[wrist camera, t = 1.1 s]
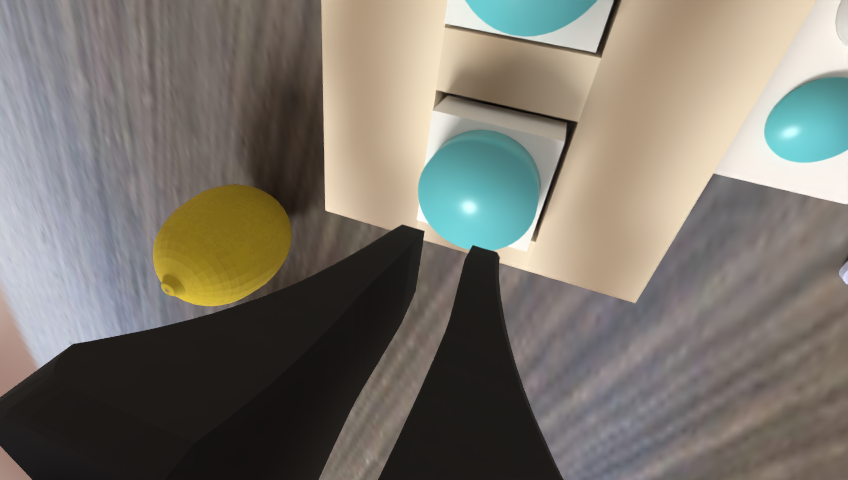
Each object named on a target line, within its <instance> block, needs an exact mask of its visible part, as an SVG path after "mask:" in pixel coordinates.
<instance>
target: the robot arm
mask: <svg viewBox="0 0 848 480" xmlns="http://www.w3.org/2000/svg"><path fill="white" fill-rule="evenodd" d="M424 233H425V231H423V230H420V229H416V228H413V227H410V226H406V225H403V224H402V225H400V226H398V227H397V228H395V229H393V230H392V231H390V232H388V233H387V234H385V235H384V236H382V237H380V238H379V239H377V240H376V241H374V242H372V243H371V244H369V245H367V246H366V247H364V248H362V249H361V250H359V251H357V252H356V253H354V254H352V255H350V256H349V257H347V258H345V259H344V260H342V261H340V262H338V263H336V264H334V265H332V266H331V267H329V268H327V269H325V270H323V271H321V272H319V273H317V274H315V275H313V276H311V277H309V278H307V279H305V280H303V281H300V282H298V283H296V284H294V285H291V286H289V287H287V288H284V289H282V290H279V291H277V292H274V293H272V294H269V295H267V296H264V297H261V298H258V299H255V300H252V301H249V302H246V303H243V304H240V305H237V306H234V307H231V308H228V309H225V310H222V311H219V312H216V313H212V314H209V315H205V316H202V317H198V318H194V319H191V320H187V321H183V322H179V323H175V324H171V325H167V326H163V327H159V328H154V329H150V330H145V331H140V332H135V333H130V334H125V335H120V336H115V337H109V338H104V339H99V340H94V341H89V342H83V343H77V344H73V345H71V346H70V347H68V348H67V349H66V350H64V351H63V352H61V353H60V354H59V355H57V356H56V357H55V358H53V359H52V360H51V361H49V362H48V363H46V364H45V365H44V366H42V367H41V368H40V369H38V370H37V371H36V372H34V373H33V374H31V375H30V376H29V377H27V378H26V379H25V380H23V381H22V382H21V383H19V384H18V385H17V386H15V387H14V388H12V389H11V390H10V391H8V392H7V393H6V394H4V395H3V396H1V397H0V446H1V447H2V448H3V449H4V450H5V451H6V452H7V453H8V454H9V455H10V457H12V459H13V460H14V461H15V462H16V463H17V464H18V465H19V466H20V467H21V468H22V469H23V470H24V471H25V472H26V473H27V475H29V476H30V478H31V479H32V480H319V477H320V475H321V473H322V471H323V469H324V466H325V464H326V462H327V460H328V458H329V455H330V453H331V451H332V449H333V447H334V445H335V442H336V440H337V438H338V436H339V434H340V432H341V430H342V428H343V425H344V423H345V421H346V419H347V417H348V415H349V413H350V411H351V409H352V407H353V405H354V403H355V401H356V399H357V397H358V396H359V394H360V392H361V390H362V389H363V387H364V385H365V384H366V382H367V380H368V379H369V377H370V375H371V374H372V372H373V370H374V369H375V367H376V365H377V364H378V362H379V360H380V359H381V357H382V355H383V353H384V352H385V350H386V348H387V347H388V345H389V343H390V342H391V340H392V338H393V337H394V335H395V333H396V332H397V330H398V328H399V326H400V325H401V323H402V321H403V318H404V316H405V314H406V312H407V309H408V307H409V305H410V303H411V300H412V298H413V296H414V293H415V291H416V284H417V278H418V272H419V265H420V259H421V252H422V246H423V239H424ZM499 260H500V256H499V255H498V253H497V252H495V251H491V250H488V249H484V248H481V247H478V246H474V245H472V247H471V249H470V251H469V253H468V255H467V257H466V259H465V261H464V265H463V269H462V273H461V277H460V281H459V285H458V289H457V293H456V297H455V301H454V305H453V309H452V313H451V316H450V320H449V323H448V326H447V329H446V332H445V334H444V336H443V339H442V341H441V343H440V346H439V348H438V350H437V353H436V355H435V357H434V360H433V362H432V364H431V367H430V369H429V371H428V374H427V376H426V378H425V380H424V383H423V385H422V387H421V389H420V392H419V394H418V396H417V398H416V400H415V403H414V405H413V407H412V409H411V411H410V414H409V416H408V418H407V420H406V422H405V424H404V427H403V429H402V431H401V433H400V435H399V437H398V439H397V442H396V444H395V446H394V448H393V450H392V452H391V454H390V456H389V458H388V460H387V462H386V464H385V466H384V469H383V471H382V473H381V475H380V477H379V479H378V480H563V478H562V476H561V474H560V472H559V470H558V468H557V466H556V464H555V462H554V459H553V457H552V455H551V453H550V450H549V448H548V446H547V444H546V441H545V439H544V437H543V435H542V432H541V430H540V428H539V426H538V423H537V421H536V419H535V417H534V414H533V412H532V409H531V407H530V404H529V401H528V399H527V396H526V393H525V391H524V388H523V385H522V382H521V379H520V376H519V373H518V370H517V367H516V364H515V360H514V357H513V353H512V350H511V346H510V342H509V338H508V334H507V329H506V325H505V320H504V314H503V308H502V302H501V295H500V285H499ZM839 276H840V277H841V278H842V279H843V280H844V282H845V283H846V284H848V261H847V262H846V263H845V264H844V265H843V267H842V268H841V269H840V271H839Z"/></svg>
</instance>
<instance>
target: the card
mask: <svg viewBox="0 0 848 480" xmlns="http://www.w3.org/2000/svg"><path fill="white" fill-rule="evenodd" d="M714 174H719V175H723V176H727V177H732V178H736V179H740V180H744V181H749V182H753V183H757V184H761V185H766V186H770V187H774V188H779V189H783V190H787V191H791V192H796V193H800V194H804V195H809V196H813V197H817V198H821V199H826V200H830V201H834V202H838V203H843V204H848V0H817V1H816V3H815V5H814V6H813V8H812V10H811V11H810V13H809V15H808V16H807V18H806V20H805V21H804V23H803V25H802V26H801V28H800V30H799V31H798V33H797V35H796V36H795V38H794V40H793V41H792V43H791V45H790V46H789V48H788V50H787V51H786V53H785V55H784V56H783V58H782V60H781V61H780V63H779V65H778V66H777V68H776V70H775V71H774V73H773V75H772V76H771V78H770V80H769V81H768V83H767V85H766V86H765V88H764V90H763V91H762V93H761V95H760V96H759V98H758V100H757V101H756V103H755V105H754V106H753V108H752V110H751V111H750V113H749V115H748V116H747V118H746V120H745V121H744V123H743V125H742V126H741V128H740V130H739V131H738V133H737V135H736V136H735V138H734V140H733V141H732V143H731V145H730V146H729V148H728V150H727V151H726V153H725V155H724V156H723V158H722V160H721V161H720V163H719V165H718V166H717V168H716V170H715V171H714Z"/></svg>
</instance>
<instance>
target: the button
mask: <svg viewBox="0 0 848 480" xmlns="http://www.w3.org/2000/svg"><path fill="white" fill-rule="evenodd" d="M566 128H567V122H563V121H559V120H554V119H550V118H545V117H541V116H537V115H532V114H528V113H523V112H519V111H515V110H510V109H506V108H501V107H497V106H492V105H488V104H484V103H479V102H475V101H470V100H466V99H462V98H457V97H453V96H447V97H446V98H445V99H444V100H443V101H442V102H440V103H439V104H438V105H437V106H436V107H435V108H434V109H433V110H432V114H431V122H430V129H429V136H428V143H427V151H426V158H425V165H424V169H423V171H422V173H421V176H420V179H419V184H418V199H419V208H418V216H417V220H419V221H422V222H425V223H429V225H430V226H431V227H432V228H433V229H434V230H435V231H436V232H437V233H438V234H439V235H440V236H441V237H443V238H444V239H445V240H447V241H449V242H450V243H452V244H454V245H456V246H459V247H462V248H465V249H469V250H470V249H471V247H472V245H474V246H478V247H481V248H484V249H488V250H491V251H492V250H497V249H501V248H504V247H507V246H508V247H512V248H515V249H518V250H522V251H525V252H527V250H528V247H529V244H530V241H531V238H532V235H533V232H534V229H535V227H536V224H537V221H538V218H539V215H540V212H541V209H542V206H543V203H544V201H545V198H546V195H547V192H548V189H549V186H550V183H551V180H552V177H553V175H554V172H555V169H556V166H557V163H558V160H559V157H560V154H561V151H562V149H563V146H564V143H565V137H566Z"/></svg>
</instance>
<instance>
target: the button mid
mask: <svg viewBox="0 0 848 480" xmlns="http://www.w3.org/2000/svg"><path fill="white" fill-rule="evenodd" d="M613 1H614V0H447V6H446V13H445V20H444V23H445V24H450V25H455V26H460V27H465V28H471V29H476V30H481V31H486V32H491V33H497V34H502V35H507V36H512V37H517V38H523V39H528V40H533V41H538V42H543V43H549V44H554V45H559V46H564V47H569V48H574V49H580V50H585V51H590V52H595V53H596V50H597V47H598V45H599V42H600V39H601V36H602V33H603V30H604V27H605V24H606V21H607V19H608V16H609V13H610V10H611V7H612V4H613Z"/></svg>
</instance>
